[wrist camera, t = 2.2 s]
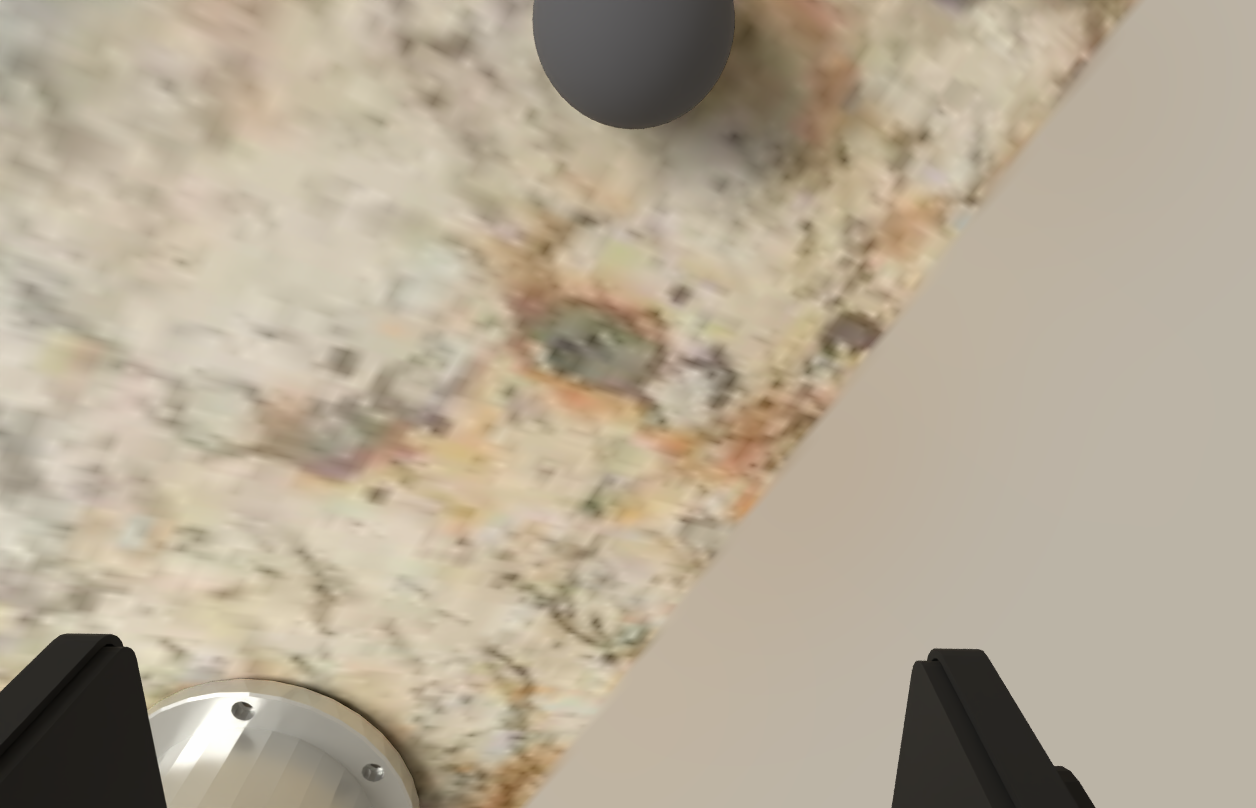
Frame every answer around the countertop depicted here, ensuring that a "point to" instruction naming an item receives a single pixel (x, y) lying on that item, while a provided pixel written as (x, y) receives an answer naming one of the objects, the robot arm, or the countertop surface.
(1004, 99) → the countertop surface
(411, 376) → the countertop surface
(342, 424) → the countertop surface
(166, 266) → the countertop surface
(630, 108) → the dark gray ball
